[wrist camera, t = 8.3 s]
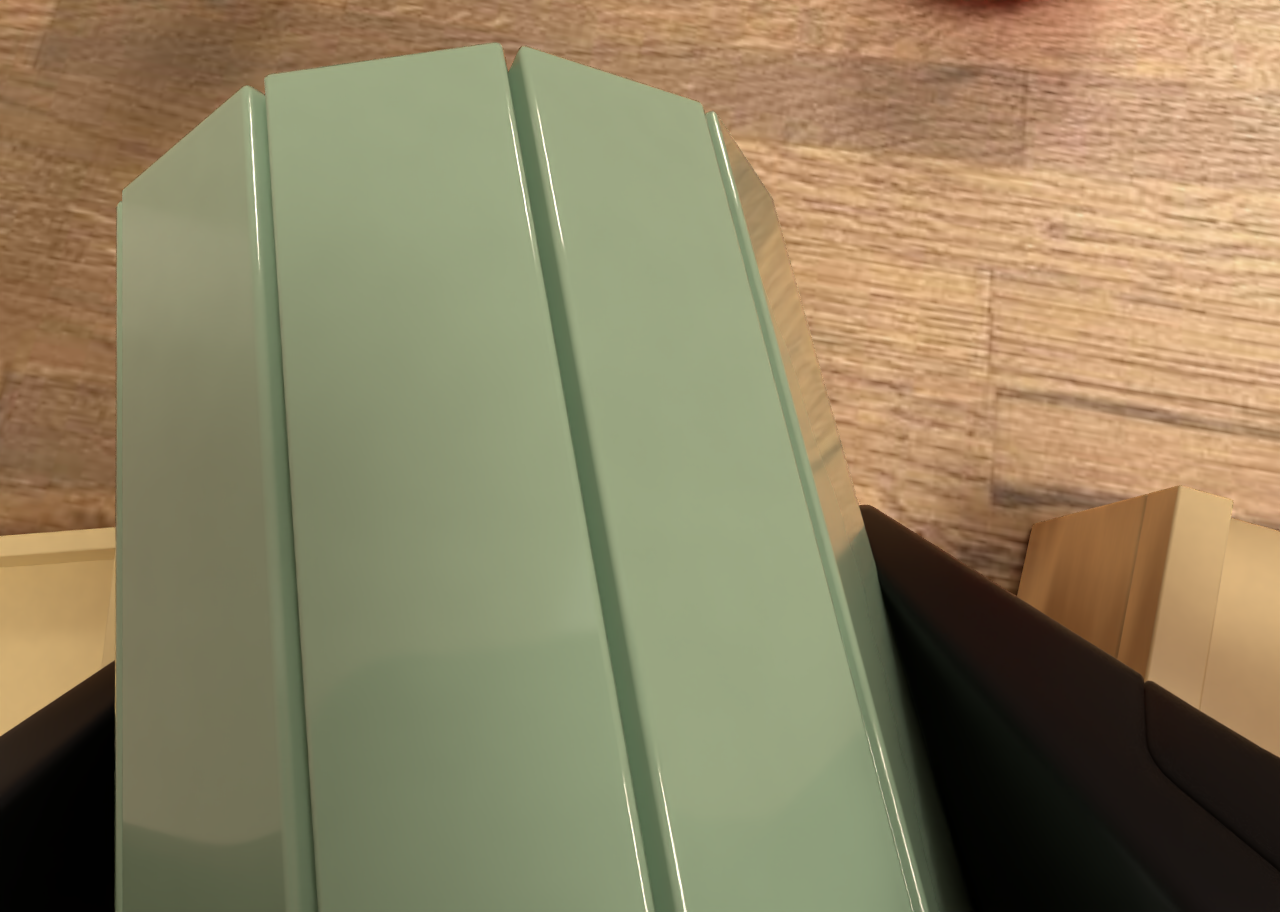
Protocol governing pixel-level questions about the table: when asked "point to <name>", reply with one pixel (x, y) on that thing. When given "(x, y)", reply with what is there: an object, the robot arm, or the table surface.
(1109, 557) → the wooden block
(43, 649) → the tray
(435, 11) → the table surface
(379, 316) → the grooved sage-green cylinder
